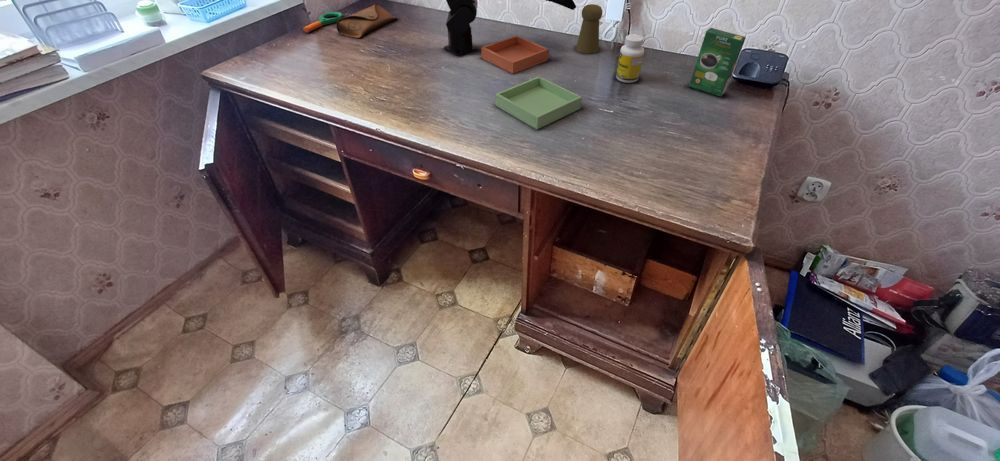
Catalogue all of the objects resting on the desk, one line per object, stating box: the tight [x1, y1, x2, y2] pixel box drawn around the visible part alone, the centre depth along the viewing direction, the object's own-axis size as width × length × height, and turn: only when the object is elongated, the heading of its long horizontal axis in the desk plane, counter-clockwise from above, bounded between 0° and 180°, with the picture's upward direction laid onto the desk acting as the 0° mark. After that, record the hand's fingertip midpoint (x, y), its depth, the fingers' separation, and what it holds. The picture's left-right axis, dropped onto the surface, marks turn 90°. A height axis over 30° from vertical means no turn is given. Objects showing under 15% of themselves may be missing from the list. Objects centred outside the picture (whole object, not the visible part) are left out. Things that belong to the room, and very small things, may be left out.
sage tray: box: [495, 76, 583, 130], centre depth 101 cm, size 13×13×3 cm
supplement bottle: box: [615, 33, 645, 84], centre depth 109 cm, size 5×5×10 cm
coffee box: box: [688, 27, 747, 98], centre depth 103 cm, size 8×3×13 cm, turn 50°
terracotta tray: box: [480, 35, 550, 74], centre depth 120 cm, size 12×12×3 cm
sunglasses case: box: [336, 2, 398, 39], centre depth 136 cm, size 18×7×7 cm, turn 152°
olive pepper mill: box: [575, 3, 603, 55], centre depth 121 cm, size 6×6×11 cm
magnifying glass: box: [302, 11, 344, 33], centre depth 138 cm, size 15×6×2 cm, turn 158°
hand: (572, 2), depth 117 cm, fingers open, 9 cm apart
